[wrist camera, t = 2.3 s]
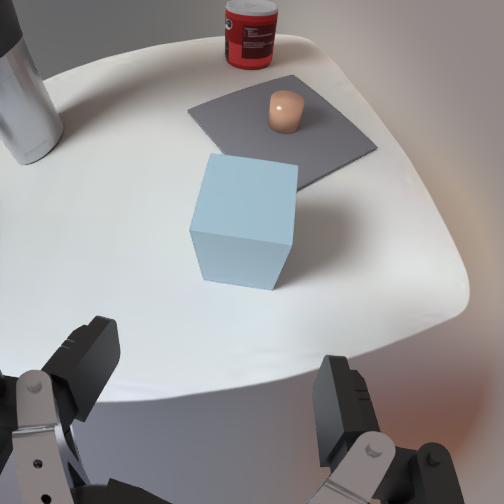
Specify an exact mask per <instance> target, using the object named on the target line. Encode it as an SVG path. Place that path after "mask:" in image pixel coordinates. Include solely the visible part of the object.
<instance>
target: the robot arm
mask: <svg viewBox="0 0 504 504" xmlns="http://www.w3.org/2000/svg"><path fill="white" fill-rule="evenodd" d="M63 127H64V126H63V123H62V121H61V119H60V117H59V115H58V113H57V111H56V109H55V107H54V105H53V103H52V101H51V99H50V96H49V94H48V92H47V90H46V88H45V86H44V84H43V81H42V79H41V77H40V75H39V73H38V71H37V68H36V66H35V63H34V61H33V59H32V56H31V54H30V52H29V49H28V47H27V44H26V42H25V39H24V36H23V33H22V31H21V28H20V25H19V22H18V18H17V15H16V12H15V8H14V5H13V2H12V0H0V138H1V140H2V141H3V143H4V144H5V146H6V147H7V148H8V150H9V151H10V153H11V154H12V155H13V157H14V158H15V159H16V161H17V162H18V163H20V164H29V163H32V162H35V161H37V160H38V159H40V158H42V157H43V156H44V155H46V154H47V153H48V152H49V151H50V150H51V149H52V148H53V147H54V146H55V145H56V144H57V142H58V141H59V139H60V137H61V135H62V133H63ZM119 359H120V344H119V338H118V330H117V324H116V321H115V320H113V319H109V318H105V317H102V316H96V317H95V318H94V319H93V320H92V321H91V322H90V323H89V325H88V326H87V325H83V326H81V327H79V328H77V329H76V330H74V331H73V332H72V333H71V334H70V335H69V337H68V338H67V340H65V341H64V342H63V344H62V345H61V347H59V348H58V350H57V351H56V352H55V353H54V354H53V356H52V357H51V358H50V359H49V360H48V362H47V363H46V364H45V365H44V367H43V368H42V369H41V370H30V371H27V372H25V373H23V374H22V375H21V376H20V377H19V378H17V377H11V376H5V375H2V372H1V370H0V474H1V472H2V470H3V468H4V466H5V464H6V462H7V460H8V458H9V456H10V454H11V453H12V451H14V459H15V466H16V472H17V478H18V483H19V488H20V493H21V497H22V502H23V504H172V503H169V502H167V501H165V500H163V499H161V498H159V497H157V496H155V495H153V494H151V493H149V492H147V491H145V490H144V489H142V488H139V487H135V486H132V485H129V484H126V483H123V482H120V481H117V480H114V479H111V478H110V479H109V482H108V484H107V485H106V484H91V482H90V480H89V478H88V476H87V474H86V472H85V470H84V468H83V465H82V461H81V458H80V455H79V451H78V448H77V444H76V440H75V436H74V432H73V429H72V425H71V424H72V422H73V420H74V418H75V419H77V420H80V421H82V422H85V420H86V419H87V417H88V415H89V413H90V411H91V409H92V408H93V406H94V404H95V402H96V401H97V399H98V397H99V395H100V394H101V392H102V390H103V388H104V387H105V385H106V383H107V381H108V380H109V378H110V376H111V375H112V373H113V371H114V370H115V368H116V366H117V364H118V362H119ZM313 405H314V413H315V422H316V430H317V440H318V448H319V459H320V467H330V469H331V475H330V476H329V477H328V478H327V480H326V481H325V482H324V483H323V485H322V486H321V487H320V488H319V489H318V491H317V492H316V493H315V494H314V495H313V497H312V498H311V499H310V500H309V501H308V502H307V504H370V503H369V501H370V499H371V498H373V499H379V500H380V501H381V504H465V503H464V499H463V496H462V492H461V489H460V485H459V482H458V478H457V475H456V472H455V469H454V465H453V462H452V459H451V456H450V454H449V452H448V450H447V449H446V448H445V447H444V446H442V445H441V444H438V443H433V442H430V443H427V444H424V445H423V446H421V447H420V448H419V450H418V451H417V450H411V449H406V448H400V447H396V446H395V445H394V443H393V441H392V440H391V439H390V438H389V437H388V436H386V435H384V434H383V433H381V432H380V428H379V426H378V422H377V418H376V415H375V412H374V408H373V405H372V402H371V401H370V395H369V392H368V389H367V386H366V383H365V380H364V378H363V377H362V376H361V375H360V374H359V373H358V371H357V370H350V369H349V365H348V362H347V359H346V357H345V356H332V355H326V356H325V357H324V359H323V362H322V364H321V367H320V370H319V373H318V375H317V378H316V380H315V383H314V387H313Z"/></svg>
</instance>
